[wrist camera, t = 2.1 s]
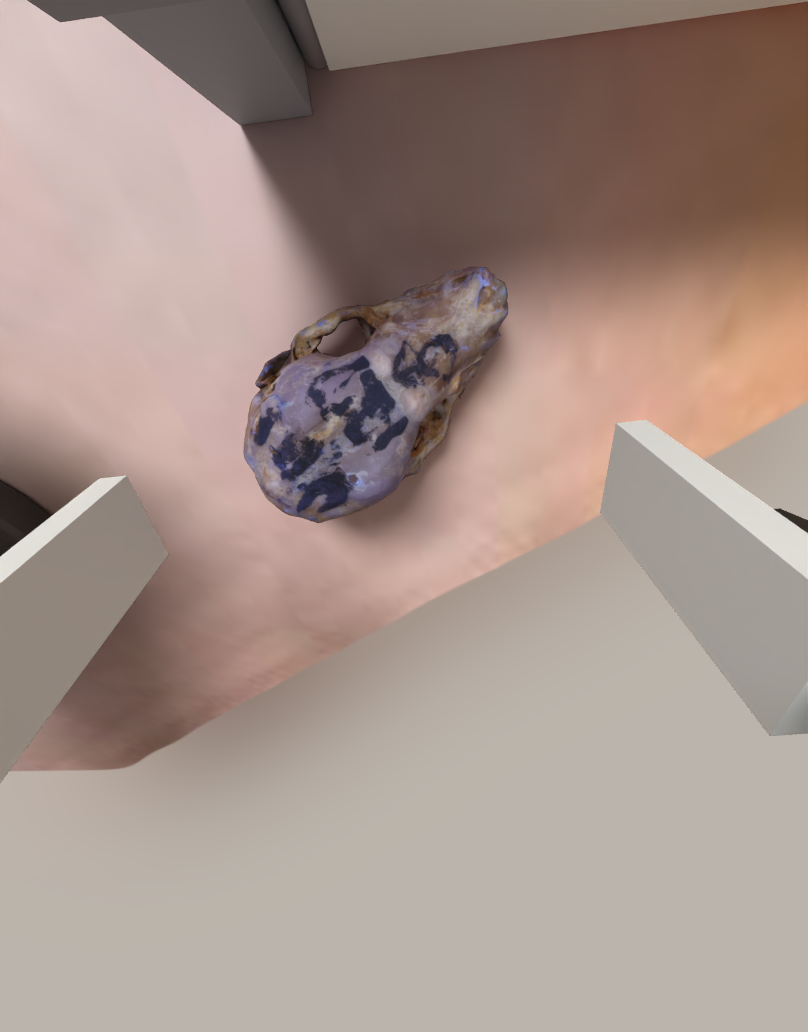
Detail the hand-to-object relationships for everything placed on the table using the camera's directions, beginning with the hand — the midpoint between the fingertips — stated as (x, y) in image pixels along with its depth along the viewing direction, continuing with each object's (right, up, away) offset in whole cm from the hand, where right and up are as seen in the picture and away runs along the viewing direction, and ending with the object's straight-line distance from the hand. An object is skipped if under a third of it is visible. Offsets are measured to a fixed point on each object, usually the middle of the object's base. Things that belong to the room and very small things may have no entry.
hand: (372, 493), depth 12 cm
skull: (0, +6, +8) cm, 10 cm away
